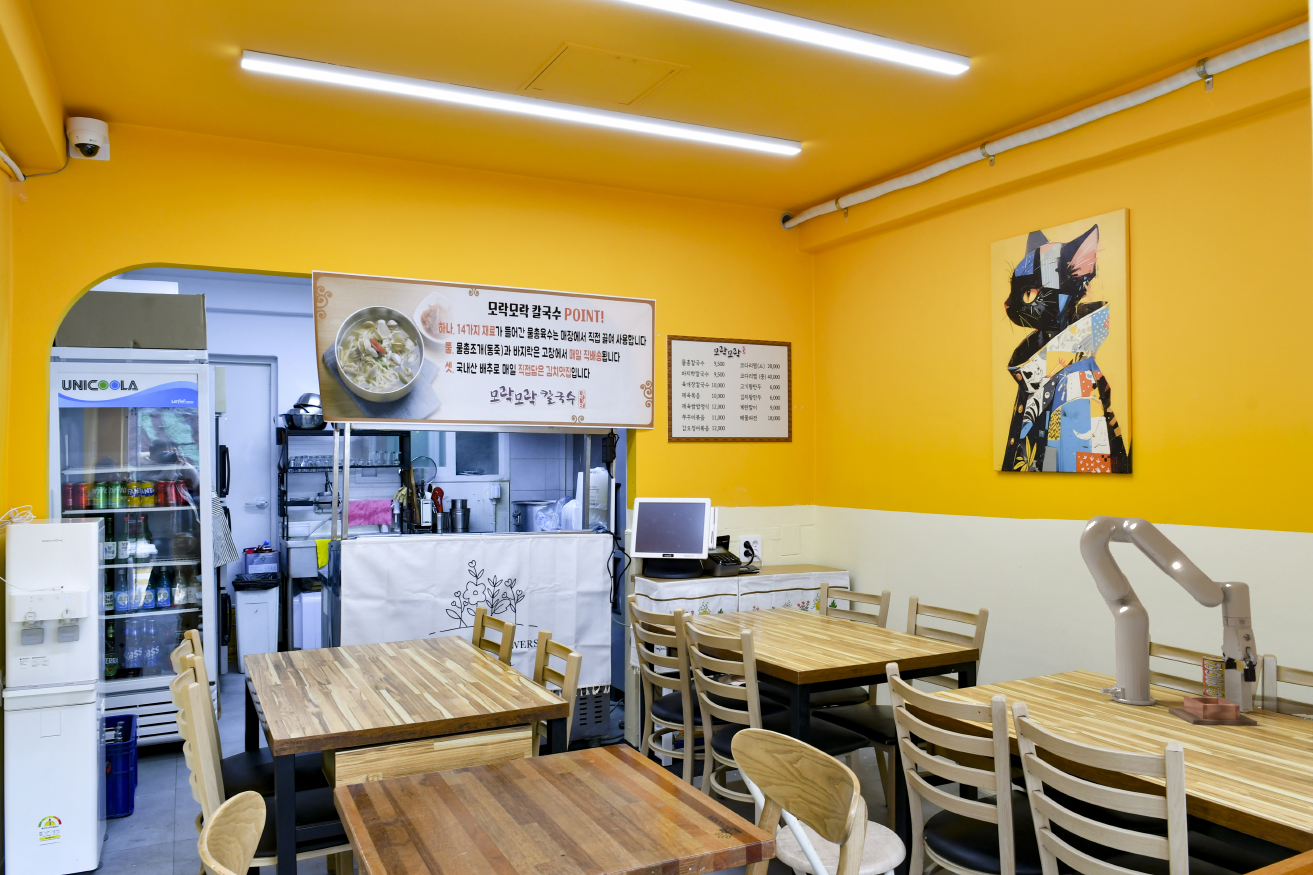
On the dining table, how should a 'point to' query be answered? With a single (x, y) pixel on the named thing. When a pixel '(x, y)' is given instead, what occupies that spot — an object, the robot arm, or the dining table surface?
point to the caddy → (1211, 712)
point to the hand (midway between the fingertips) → (1240, 678)
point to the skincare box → (1238, 689)
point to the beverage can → (1213, 675)
